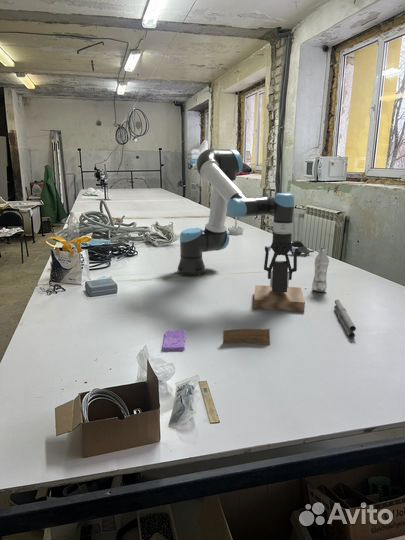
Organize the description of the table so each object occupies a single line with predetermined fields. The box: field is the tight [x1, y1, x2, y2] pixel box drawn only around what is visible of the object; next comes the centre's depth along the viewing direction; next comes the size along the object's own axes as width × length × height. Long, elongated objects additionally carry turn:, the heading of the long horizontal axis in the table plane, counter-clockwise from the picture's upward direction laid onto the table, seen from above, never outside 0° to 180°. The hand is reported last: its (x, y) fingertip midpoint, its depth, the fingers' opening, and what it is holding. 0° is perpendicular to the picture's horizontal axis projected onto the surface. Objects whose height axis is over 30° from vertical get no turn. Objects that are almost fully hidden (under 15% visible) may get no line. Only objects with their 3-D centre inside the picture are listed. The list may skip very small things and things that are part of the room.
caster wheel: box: [289, 240, 315, 257], centre depth 235 cm, size 6×10×15 cm
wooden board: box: [253, 284, 306, 313], centre depth 157 cm, size 20×18×4 cm
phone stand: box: [271, 260, 289, 292], centre depth 154 cm, size 9×6×12 cm, turn 172°
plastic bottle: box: [311, 247, 330, 293], centre depth 168 cm, size 6×7×20 cm
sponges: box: [162, 329, 186, 352], centre depth 123 cm, size 7×13×2 cm, turn 2°
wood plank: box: [222, 328, 271, 346], centre depth 121 cm, size 15×2×5 cm, turn 91°
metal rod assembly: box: [333, 299, 357, 339], centre depth 137 cm, size 26×3×5 cm, turn 172°
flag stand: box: [227, 217, 245, 236], centre depth 300 cm, size 13×13×30 cm
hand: (279, 286), depth 155 cm, fingers closed on phone stand, 6 cm apart
